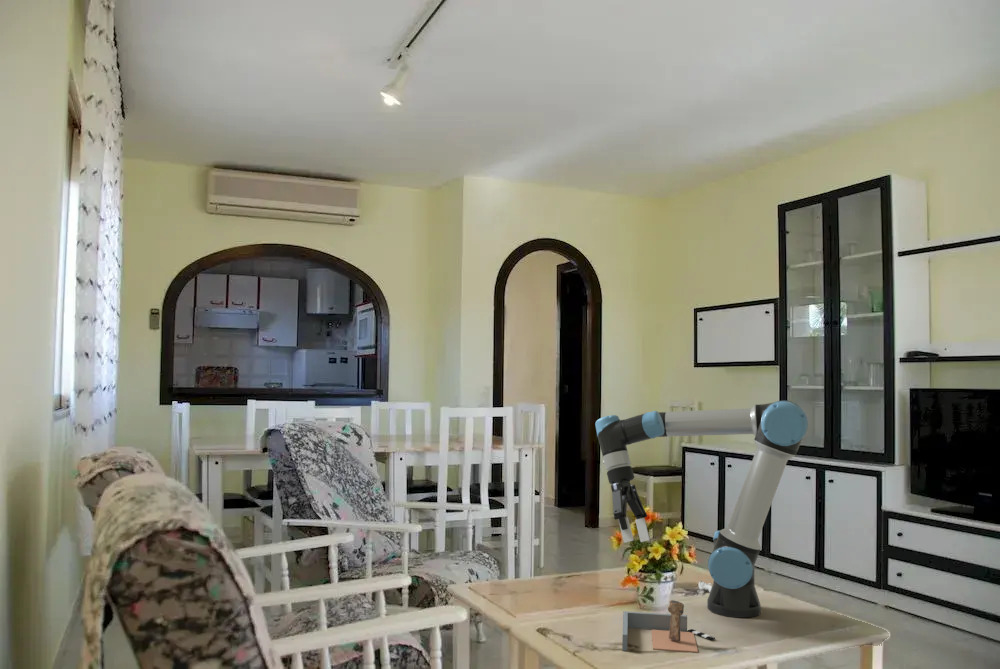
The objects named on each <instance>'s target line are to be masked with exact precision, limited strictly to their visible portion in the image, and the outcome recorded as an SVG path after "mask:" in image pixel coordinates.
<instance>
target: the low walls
mask: <svg viewBox="0 0 1000 669" xmlns="http://www.w3.org/2000/svg"><path fill="white" fill-rule="evenodd" d="M670 618H671V613H660V612H659V613H658V612H645V611H644V612H643V611H641V612H640V611H628V610H623V613H622V642H621V643H622V648H621V649H622V650H621V651H623V652H628V631H629V630H628V629H642V630H643V629H644V630H665V631H670ZM680 632H688V614H687V615H686V614H683V615H681V616H680Z"/></svg>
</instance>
